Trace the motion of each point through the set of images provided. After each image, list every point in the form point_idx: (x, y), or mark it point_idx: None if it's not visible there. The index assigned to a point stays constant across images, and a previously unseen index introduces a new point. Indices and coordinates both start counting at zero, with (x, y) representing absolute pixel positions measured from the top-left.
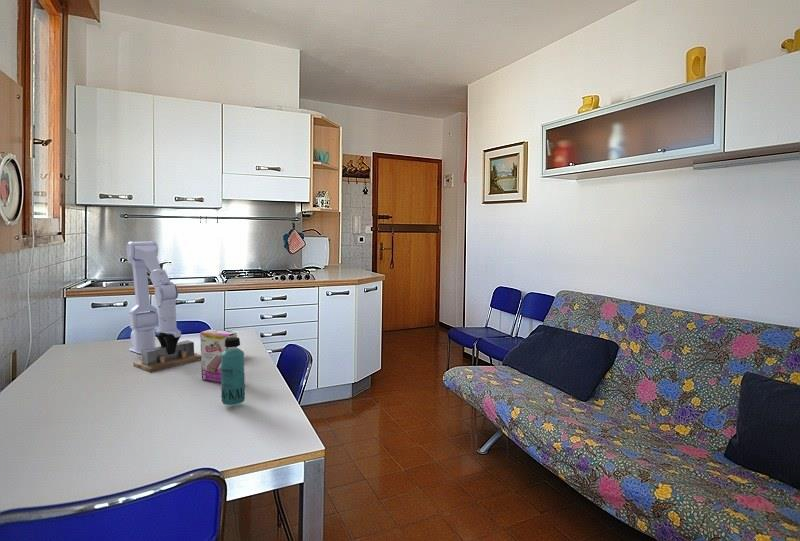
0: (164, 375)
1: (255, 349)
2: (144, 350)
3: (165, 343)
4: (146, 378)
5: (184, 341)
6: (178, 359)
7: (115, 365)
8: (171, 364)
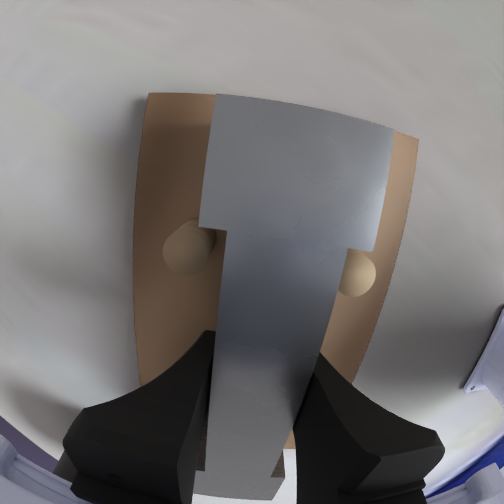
0: (44, 130)
1: None
2: (336, 130)
3: (310, 417)
4: (85, 42)
5: (260, 488)
6: (186, 348)
7: (479, 109)
8: (135, 261)
